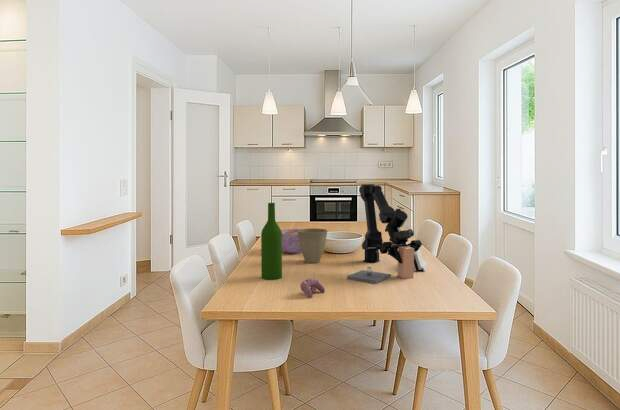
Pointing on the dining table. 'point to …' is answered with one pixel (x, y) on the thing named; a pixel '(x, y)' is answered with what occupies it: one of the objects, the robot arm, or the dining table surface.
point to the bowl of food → (290, 241)
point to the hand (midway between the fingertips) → (407, 262)
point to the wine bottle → (271, 247)
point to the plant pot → (312, 243)
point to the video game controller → (311, 287)
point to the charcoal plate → (374, 278)
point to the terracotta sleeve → (406, 262)
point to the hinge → (419, 261)
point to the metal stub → (369, 271)
